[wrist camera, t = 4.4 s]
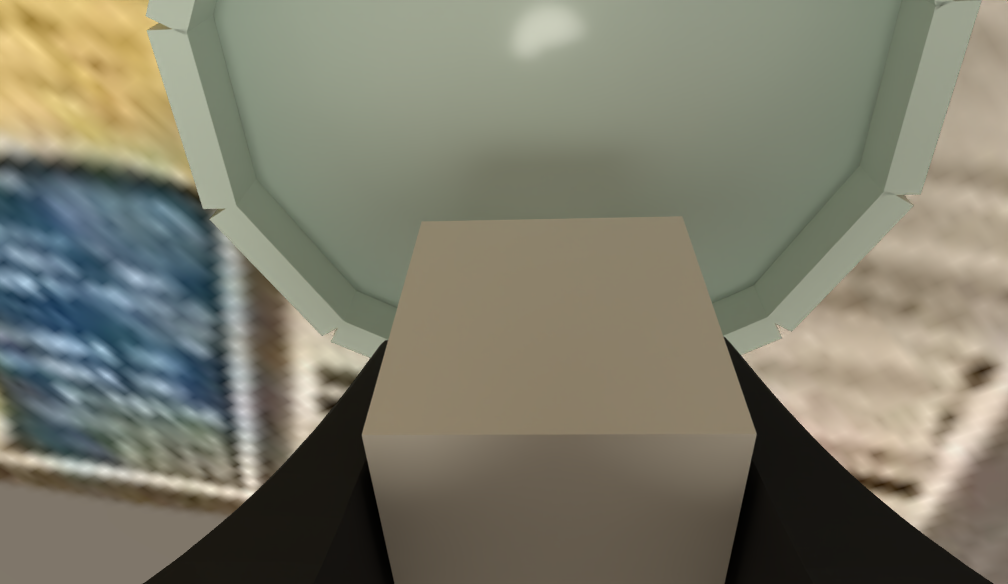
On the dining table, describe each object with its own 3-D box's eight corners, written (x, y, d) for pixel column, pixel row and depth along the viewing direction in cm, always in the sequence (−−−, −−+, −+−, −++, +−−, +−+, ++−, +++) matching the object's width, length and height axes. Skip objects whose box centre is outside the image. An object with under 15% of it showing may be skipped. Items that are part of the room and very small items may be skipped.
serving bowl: (1042, -422, 12) (1125, -457, 10) (831, 351, 21) (856, 399, 19) (86, -354, 13) (17, -377, 11) (285, 355, 22) (264, 401, 20)
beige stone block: (682, 216, 12) (757, 434, 8) (661, 408, 14) (709, 651, 10) (421, 221, 12) (361, 435, 8) (445, 409, 15) (408, 646, 11)
